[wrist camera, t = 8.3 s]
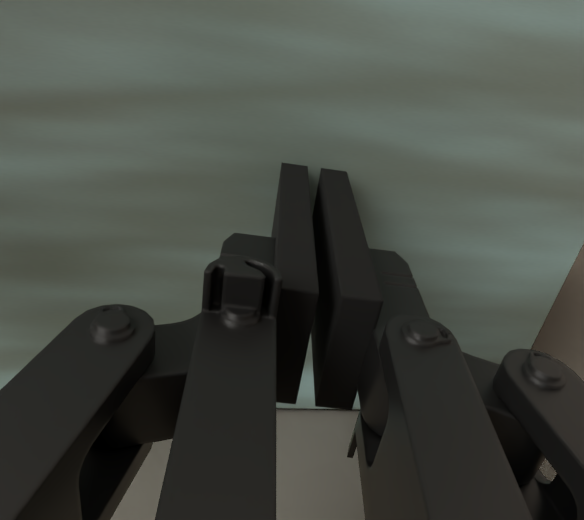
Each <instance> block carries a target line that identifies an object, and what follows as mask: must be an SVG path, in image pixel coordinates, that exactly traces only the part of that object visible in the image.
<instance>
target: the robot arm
mask: <svg viewBox="0 0 584 520" xmlns="http://www.w3.org/2000/svg"><path fill="white" fill-rule="evenodd" d="M310 334H311V342H312V359H313V377H314V394H315V406H316V407H326V408H335V409H345V410H352V408H353V405H354V402H355V398H356V395H357V391H358V396H359V402H360V412H359V415H358V418H357V422H356V425H355V428H354V432H353V435H352V438H351V442H350V445H349V449H348V456H347V457H349V458H353V456H354V452H355V449H356V447H357V451H358V459H359V468H360V477H361V485H362V494H363V503H364V512H365V520H584V382H583V381H582V380H581V378H580V377H579V376H578V375H577V374H576V373H575V372H573V371H572V370H571V369H570V368H569V367H567V366H566V365H565V364H564V363H562V362H561V361H559V360H557V359H555V358H553V357H552V356H550V355H548V354H546V353H543V352H540V351H535V350H531V349H521V348H519V349H515V350H510V351H509V352H508V353H507V354H506V355H505V356H504V358H503V360H502V362H501V364H500V365H499V364H496V363H493V362H490V361H487V360H484V359H481V358H478V357H475V356H472V355H470V354H467V353H465V352H462V351H461V349H460V346H459V344H458V341H457V339H456V338H455V337H454V335H453V334H452V332H451V331H450V330H449V329H447V328H446V327H445V326H444V325H442V324H441V323H439V322H437V321H435V320H433V319H431V318H430V317H429V314H428V312H427V309H426V307H425V304H424V302H423V299H422V297H421V295H420V292H419V290H418V288H417V285H416V282H415V280H414V278H413V275H412V272H411V270H410V268H409V265H408V263H407V262H406V261H405V260H404V259H403V258H402V257H400V256H399V255H398V254H397V253H396V252H395V251H387V250H379V249H371V248H369V247H368V244H367V241H366V237H365V234H364V230H363V227H362V223H361V220H360V216H359V213H358V209H357V206H356V202H355V199H354V195H353V192H352V188H351V185H350V181H349V178H348V174H347V172H346V171H339V170H332V169H325V168H321V171H320V177H319V182H318V187H317V193H316V198H315V204H314V209H313V215H312V209H311V198H310V187H309V176H308V166H303V165H296V164H289V163H281V170H280V177H279V184H278V192H277V199H276V206H275V213H274V220H273V227H272V234H271V237H266V236H258V235H250V234H242V233H233V234H232V235H231V236H230V237H228V238H227V239H226V240H225V241H223V245H222V249H221V253H220V257H219V258H218V259H216V260H215V261H213V262H211V263H209V264H208V266H207V267H206V269H205V270H204V280H203V295H202V310H201V313H199V314H198V315H196V316H194V317H193V318H190V319H188V320H185V321H182V322H176V323H171V324H161V325H155V324H154V320H153V318H152V317H151V316H150V315H149V314H148V313H147V312H146V311H144V310H142V309H139V308H137V307H135V306H130V305H123V304H111V305H102V306H98V307H95V308H92V309H89V310H87V311H85V312H84V313H82V314H81V315H79V316H78V317H76V318H75V319H74V320H73V321H72V322H71V323H70V324H69V325H68V326H66V327H65V328H64V329H63V330H62V331H61V332H60V333H59V334H58V335H57V336H56V337H55V338H54V339H53V340H52V341H51V342H50V343H49V344H48V345H47V346H46V347H45V348H44V349H43V350H41V351H40V352H39V353H38V354H37V355H36V356H35V357H34V358H33V359H32V360H31V361H30V362H29V363H28V364H27V365H26V366H25V367H24V368H23V369H22V370H21V371H20V372H19V373H17V374H16V375H15V376H14V377H13V378H12V379H11V380H10V381H9V382H8V383H7V384H6V385H5V386H4V387H3V388H2V389H1V390H0V520H110V519H111V517H112V515H113V514H114V512H115V510H116V508H117V507H118V505H119V503H120V501H121V500H122V498H123V496H124V494H125V493H126V491H127V489H128V488H129V486H130V484H131V482H132V481H133V479H134V477H135V475H136V474H137V472H138V470H139V468H140V467H141V465H142V463H143V461H144V460H145V458H146V456H147V455H148V453H149V451H150V449H151V447H152V443H153V442H156V441H162V440H167V439H173V441H172V445H171V450H170V454H169V459H168V463H167V468H166V472H165V477H164V481H163V486H162V490H161V495H160V499H159V504H158V508H157V513H156V517H155V520H276V402H277V403H287V404H296V401H297V397H298V392H299V387H300V382H301V377H302V373H303V368H304V363H305V358H306V354H307V349H308V344H309V339H310ZM545 458H546V459H547V460H548V462H549V463H550V464H551V466H552V467H553V468H554V469H555V471H556V472H557V473H558V474H557V475H556V477H555V478H554V480H553V481H552V482H551V481H549V480H548V479H547V478H546V477H545V476H544V475H543V474H542V473H541V471H540V470H539V468H540V466H541V465H542V463H543V461H544V460H545Z"/></svg>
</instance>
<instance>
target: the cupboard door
mask: <svg viewBox="0 0 584 520" xmlns="http://www.w3.org/2000/svg"><path fill="white" fill-rule="evenodd" d="M281 163H289V164H296V165H303V166H308V176H309V187H310V198H311V209H312V215H313V209H314V204H315V198H316V193H317V187H318V182H319V177H320V171H321V168H325V169H332V170H339V171H346V172H347V174H348V178H349V181H350V185H351V188H352V192H353V195H354V199H355V202H356V206H357V209H358V213H359V216H360V220H361V223H362V227H363V230H364V234H365V237H366V241H367V244H368V247H369V248H371V249H379V250H387V251H395V252H396V253H397V254H398V255H399V256H400V257H402V258H403V259H404V260H405V261H406V262H407V263H408V265H409V268H410V270H411V272H412V275H413V278H414V280H415V282H416V285H417V288H418V290H419V292H420V295H421V297H422V299H423V302H424V304H425V307H426V309H427V312H428V314H429V317H430V318H431V319H433V320H435V321H437V322H439V323H441V324H442V325H444V326H445V327H446V328H447V329H449V330H450V331H451V332H452V334H453V335H454V337H455V338H456V339H457V341H458V344H459V346H460V349H461V351H462V352H465V353H467V354H470V355H472V356H475V357H478V358H481V359H484V360H487V361H490V362H493V363H496V364H499V365H500V364H501V362H502V360H503V358H504V356H505V355H506V354H507V353H508V352H509V351H510V350H515V349H519V348H521V349H531V347H532V345H533V343H534V341H535V339H536V337H537V335H538V333H539V331H540V329H541V327H542V325H543V323H544V321H545V319H546V317H547V315H548V313H549V312H550V310H551V308H552V306H553V304H554V302H555V300H556V298H557V296H558V294H559V292H560V290H561V288H562V286H563V284H564V282H565V280H566V278H567V276H568V274H569V272H570V270H571V268H572V266H573V264H574V262H575V260H576V258H577V256H578V254H579V252H580V250H581V248H582V246H583V244H584V0H0V390H1V389H2V388H3V387H4V386H5V385H6V384H7V383H8V382H9V381H10V380H11V379H12V378H13V377H14V376H15V375H16V374H17V373H19V372H20V371H21V370H22V369H23V368H24V367H25V366H26V365H27V364H28V363H29V362H30V361H31V360H32V359H33V358H34V357H35V356H36V355H37V354H38V353H39V352H40V351H41V350H43V349H44V348H45V347H46V346H47V345H48V344H49V343H50V342H51V341H52V340H53V339H54V338H55V337H56V336H57V335H58V334H59V333H60V332H61V331H62V330H63V329H64V328H65V327H66V326H68V325H69V324H70V323H71V322H72V321H73V320H74V319H75V318H76V317H78V316H79V315H81V314H82V313H84V312H85V311H87V310H89V309H92V308H95V307H98V306H102V305H111V304H123V305H130V306H135V307H137V308H139V309H142V310H144V311H146V312H147V313H148V314H149V315H150V316H151V317H152V318H153V320H154V324H155V325H161V324H171V323H176V322H182V321H185V320H188V319H190V318H193V317H194V316H196V315H198V314H199V313H201V310H202V295H203V280H204V270H205V269H206V267H207V266H208V264H209V263H211V262H213V261H215V260H216V259H218V258H219V257H220V253H221V249H222V245H223V241H225V240H226V239H227V238H228V237H230V236H231V235H232V234H233V233H242V234H250V235H258V236H266V237H271V234H272V227H273V220H274V213H275V206H276V199H277V192H278V184H279V177H280V170H281ZM276 408H301V409H335V408H326V407H316V406H315V394H314V377H313V359H312V342H311V334H310V339H309V344H308V349H307V354H306V358H305V363H304V368H303V373H302V377H301V382H300V387H299V392H298V397H297V401H296V404H287V403H277V402H276ZM352 409H360V402H359V396H358V391H357V395H356V398H355V402H354V405H353V408H352Z"/></svg>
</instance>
